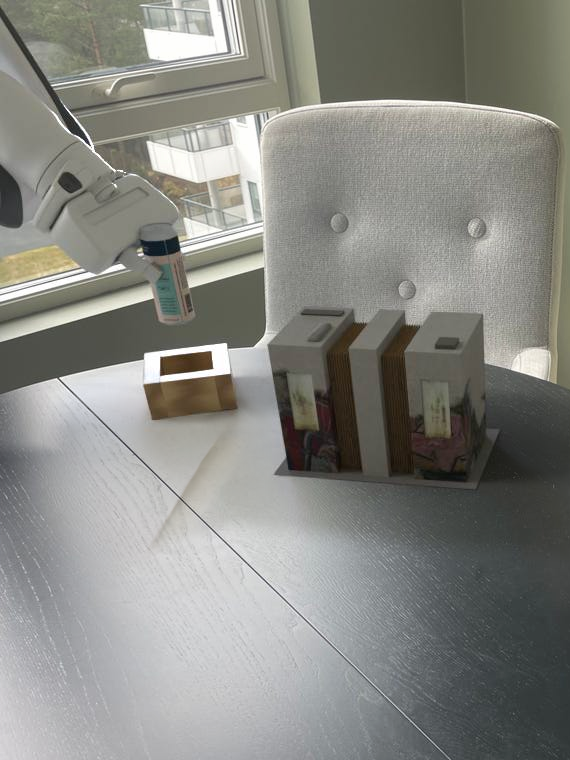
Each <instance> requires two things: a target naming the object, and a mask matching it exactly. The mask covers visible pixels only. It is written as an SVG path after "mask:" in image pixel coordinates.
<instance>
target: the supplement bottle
mask: <svg viewBox="0 0 570 760" xmlns="http://www.w3.org/2000/svg"><path fill="white" fill-rule="evenodd" d="M140 242H141V246H142V248H141V250H142V255H143V259H145V260H147V261H148V262H150V263H153V262H155V263H156V264H158V265H159V267H160V268H162V269H163V271H164V275H163V276H162V277H161V279H160V280H159V281H157V282H156V283H154V284H153V283H151V282H150V281H149V284H150V288H151V292H152V297H153V301H154V305H155V310H156V313H157V317H158V322H160V323H162V324H164V325H166V326H170V327H178V326H184V325H187V324H189V323H190V322H191V321H193V320H194V319H195V317H196V313H195V309H194V305H193V299H192V295H191V290H190V285H189V281H188V276H187V271H186V267H185V261H184V262H183V257H182V253H183V252H182V249H181V244H180V237H179V232H178V231H177V229H176V227H174V225H172V224H170V223H167V222H160V223H151V224H147V225H145V226H142V227H141V234H140Z"/></svg>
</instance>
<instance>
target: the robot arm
mask: <svg viewBox="0 0 570 760" xmlns="http://www.w3.org/2000/svg"><path fill="white" fill-rule="evenodd" d="M179 217H180V212H179V209H178V207H177V206H176V205H175V204H174V202H173V201H171V200H170V198H168V197H167V196H165V195H164V194H163V193H162V192H161V191H160V190H159V189H157V188H156V187H155V186H153V185H152V184H151V183H149V181H147V180H146V179H144V178H143V177H141V176H139V175H137V174H133V173H128V172H124V171H123V170H121V169H116V170H115V169H114V168H112V167H111V166H110V165H109V164H108V163H107V162H106V161H105V160H104V159H103V158H102V157H101V156H100V155H99V154H98V153H97V152H95V148H94V144H93V141H92V139H91V138H90V136H89V134H88V133H87V132H86V130H85V129H84V127H83V126H82V125H81V124H80V122H79V121H78V120H77V119H76V118H75V116H74V115H73V114H72V113H71V112H70V111H69V109H68V108H67V107H66V105H65V104H64V103H63V102H62V100H61V98H60V97H59V96H58V94H57V92H56V91H55V89H54V88H53V86H52V84H51V83H50V82H49V80H48V78H47V76H46V75H45V73H44V72H43V70H42V68H41V66H39V64H38V63H37V61H36V59H35V58H34V56H33V55H32V52H31V51H30V50H29V48H28V47H27V45H26V43H25V42H24V41H23V39H22V37H21V36H20V34H19V32H18V31H17V29H16V28H15V26H14V25H13V23H12V21H11V20H10V18H9V17H8V16H7V14H6V12H5V11H4V9H3V8H2V7H1V6H0V226H1V227H4V228H7V229H19V228H21V227H23V226H26V225H28V224H30V223H32V225H33V227H35V228H36V230H38V231H39V232H40V233H42V234H44V235H49V236H50V238H51V240H52V242H53V243H54V244H55V245H56V246H57V247H58V248H59V249H60V250H61V251H62V252H63V253H64V254H65V255H66V256H67V257H68V258H69V259H71V260H72V261H73V262H74V263H75V264H76V265H78V266H79V267H80V268H81V269H83V270H84V271H86V272H87V273H91V274H93V275H97V276H98V275H101V274H102V273H103V272H105V271H106V270H108V269H110V268H111V267H113V266H115V265H117V264H118V263H119V264H121V265H122V266H123V267H124V268H125V269H127V270H129V271H132V272H134V273H137V274H138V275H142V276H143V277H144V278H145V279H146V280H147V281H148V282H149V283H150V282H151V283H153V284H154V283H156V282H157V281H159V280H160V279H161V277H162V276H163V275H164V271H163V269H162V268H160V267H159V265H158V264H156V263H155V262H153V263H150V262H148V261H147V260H145V259H144V257H142V256H140V255H139V250H142V246H141V242H140V234H141V227H142V226H145V225H147V224H151V223H160V222H167V223H170V224H172V225H173V226H174V225H175V224H176V222H177V221H178V219H179ZM182 257H183V262H184V263H185V261H186V260H187V256H186V254H184V252H182Z"/></svg>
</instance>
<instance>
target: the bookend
mask: <svg viewBox="0 0 570 760" xmlns="http://www.w3.org/2000/svg"><path fill="white" fill-rule="evenodd" d="M429 312H430V313H429V314H428V316H427V317H426V318H425V320H424V321H423V323H422V324H408V323H407V319H406V310H405V309H384V308H383V309H381V308H380V309H378V310H377V312H376V313H375V314H374V316H373V317H372V318H371V320H370V321H369V322H362V321H356V315H355V314H356V313H355V308H353V307H335V306H334V307H333V306H310V305H309V306H307V305H304V306H303V307H302V308H300V310H299V311H298V312H297V313H296V314H295V315H294V316H293V317H292V318H291V319H290V320H289V321H288V322H287V323H286V324H285V325H284V326H283V328H281V330H280V331H279V332H278V333H276V335H274V337H272V338H271V340H270V341H269V342H268V343H267V352H268V357H269V358H268V359H269V364H270V369H271V375H272V381H273V385H274V391H275V392H274V394H275V398H276V405H277V410H278V416H279V423H280V429H281V434H282V440H283V447H284V452H285V457H284V459H283V461H282V462H281V464H279V466H278V467H277V469H276V470H275V471H274V472H273V475H274V476H287V477H288V476H289V477H301V478H302V477H303V478H314V479H327V480H329V479H330V480H340V481H341V480H342V481H353V482H354V481H355V482H368V483H382V484H395V485H396V484H397V485H409V486H423V487H434V488H435V487H436V488H448V489H462V490H475V491H476V489H477V487H478V484H479V482H480V480H481V478H482V475H483V473H484V470H485V467H486V465H487V462H488V460H489V458H490V455H491V453H492V450H493V448H494V446H495V444H496V443H495V442H496V441H497V438H498V435H499V433H500V431H501V429H500V428H487V405H486V403H487V402H486V401H487V400H486V368H485V366H486V365H485V333H484V332H485V330H484V313H475V312H453V311H429Z"/></svg>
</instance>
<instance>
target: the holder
mask: <svg viewBox="0 0 570 760" xmlns="http://www.w3.org/2000/svg"><path fill="white" fill-rule="evenodd" d="M142 386H143V390H144V394H145V398H146V402H147V407H148V410H149V415H150V418H151V420H158V419H159V420H160V419H166V418H174V417H182V416H190V415H198V414H206V413H213V412H221V411H228V410H234V409H238V401H237V395H236V387H235V381H234V373H233V368H232V363H231V358H230V355H229V349H228V343H227V342H226V343H217V344H208V345H202V346H193V347H184V348H176V349H175V348H174V349H168V350H161V351H160V350H159V351H150V352H144V355H143V375H142Z"/></svg>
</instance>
